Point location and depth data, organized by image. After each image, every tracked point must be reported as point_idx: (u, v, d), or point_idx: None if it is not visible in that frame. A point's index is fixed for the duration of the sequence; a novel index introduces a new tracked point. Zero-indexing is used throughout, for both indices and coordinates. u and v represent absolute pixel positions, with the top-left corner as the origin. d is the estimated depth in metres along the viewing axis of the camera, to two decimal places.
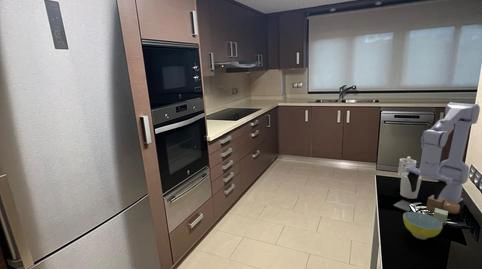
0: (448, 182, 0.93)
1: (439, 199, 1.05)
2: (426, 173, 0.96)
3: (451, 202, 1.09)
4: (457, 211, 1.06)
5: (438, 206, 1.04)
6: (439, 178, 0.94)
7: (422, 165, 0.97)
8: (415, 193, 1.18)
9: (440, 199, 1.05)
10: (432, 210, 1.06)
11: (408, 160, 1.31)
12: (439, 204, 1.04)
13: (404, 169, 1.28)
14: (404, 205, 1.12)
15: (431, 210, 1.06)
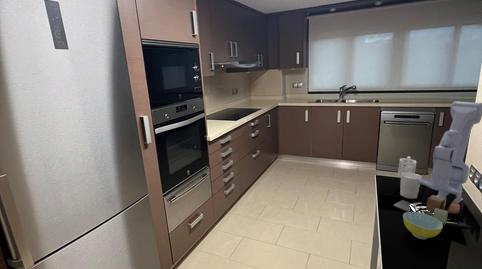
0: (458, 195, 0.99)
1: (439, 199, 1.05)
2: (437, 186, 1.03)
3: None
4: (457, 211, 1.06)
5: (438, 206, 1.04)
6: (449, 191, 1.01)
7: (433, 178, 1.04)
8: (415, 193, 1.18)
9: (440, 199, 1.05)
10: (432, 210, 1.06)
11: (408, 160, 1.31)
12: (439, 204, 1.04)
13: (404, 169, 1.28)
14: (404, 205, 1.12)
15: (431, 210, 1.06)
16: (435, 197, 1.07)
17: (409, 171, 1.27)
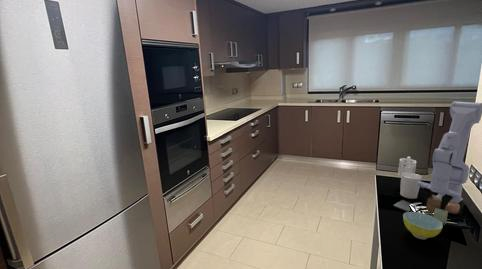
0: (458, 197, 0.99)
1: (439, 199, 1.05)
2: (437, 188, 1.03)
3: (451, 202, 1.09)
4: (457, 211, 1.06)
5: (438, 206, 1.04)
6: (449, 193, 1.01)
7: (433, 181, 1.04)
8: (415, 193, 1.18)
9: (440, 199, 1.05)
10: (432, 210, 1.06)
11: (408, 160, 1.31)
12: (439, 204, 1.04)
13: (404, 169, 1.28)
14: (404, 205, 1.12)
15: (431, 210, 1.06)
16: (435, 197, 1.07)
17: (409, 171, 1.27)
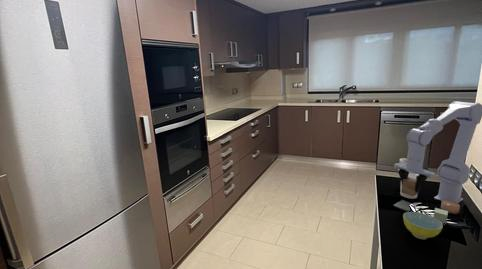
0: (431, 177, 1.01)
1: (414, 180, 1.07)
2: (411, 168, 1.05)
3: (451, 202, 1.09)
4: (457, 211, 1.06)
5: (412, 187, 1.06)
6: (423, 173, 1.03)
7: (408, 161, 1.06)
8: None
9: (415, 180, 1.07)
10: (407, 191, 1.08)
11: None
12: (413, 185, 1.06)
13: None
14: (404, 205, 1.12)
15: (406, 191, 1.08)
16: (410, 178, 1.09)
17: None
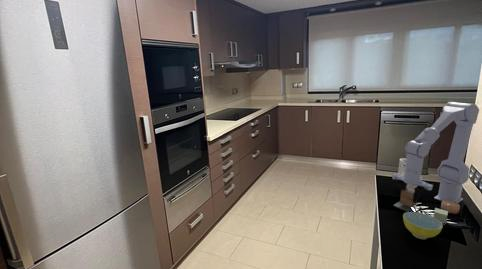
0: (429, 188, 1.03)
1: (412, 191, 1.09)
2: (410, 180, 1.06)
3: (451, 202, 1.09)
4: (457, 211, 1.06)
5: (411, 198, 1.07)
6: (421, 185, 1.04)
7: (406, 173, 1.07)
8: None
9: (413, 191, 1.09)
10: (405, 202, 1.09)
11: None
12: (411, 196, 1.07)
13: (404, 169, 1.28)
14: (404, 205, 1.12)
15: (404, 202, 1.10)
16: (409, 189, 1.10)
17: None
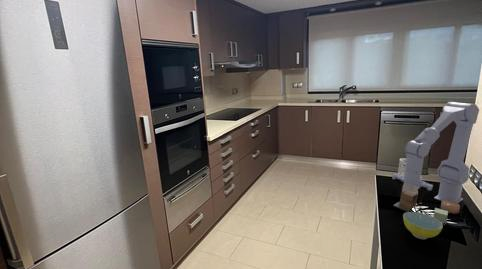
0: (429, 188, 1.03)
1: (412, 194, 1.09)
2: (410, 180, 1.06)
3: (451, 202, 1.09)
4: (457, 211, 1.06)
5: (410, 200, 1.08)
6: (421, 185, 1.04)
7: (406, 173, 1.07)
8: None
9: (413, 194, 1.09)
10: (405, 204, 1.09)
11: None
12: (411, 198, 1.07)
13: (404, 169, 1.28)
14: None
15: (404, 204, 1.10)
16: (408, 192, 1.11)
17: None
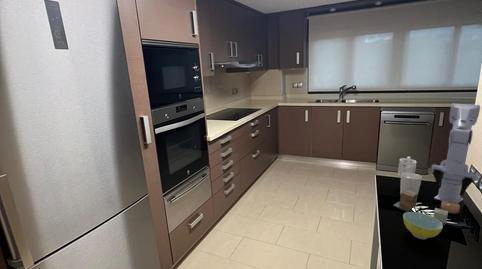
0: (474, 179, 0.97)
1: (412, 194, 1.09)
2: (452, 170, 1.00)
3: (451, 202, 1.09)
4: (457, 211, 1.06)
5: (410, 200, 1.08)
6: (465, 175, 0.98)
7: (448, 163, 1.02)
8: None
9: (413, 194, 1.09)
10: (405, 204, 1.09)
11: (408, 160, 1.31)
12: (411, 198, 1.07)
13: (404, 169, 1.28)
14: None
15: (404, 204, 1.10)
16: (408, 192, 1.11)
17: (409, 171, 1.27)
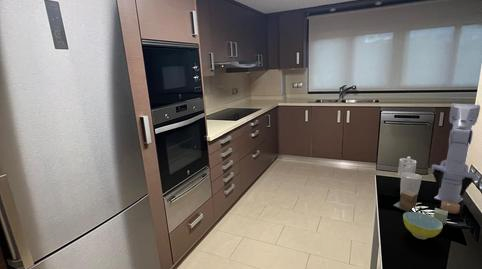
0: (475, 179, 0.97)
1: (412, 194, 1.09)
2: (452, 170, 1.00)
3: (451, 202, 1.09)
4: (457, 211, 1.06)
5: (410, 200, 1.08)
6: (465, 175, 0.98)
7: (448, 163, 1.02)
8: None
9: (413, 194, 1.09)
10: (405, 204, 1.09)
11: (408, 160, 1.31)
12: (411, 198, 1.07)
13: (404, 169, 1.28)
14: None
15: (404, 204, 1.10)
16: (408, 192, 1.11)
17: (409, 171, 1.27)
